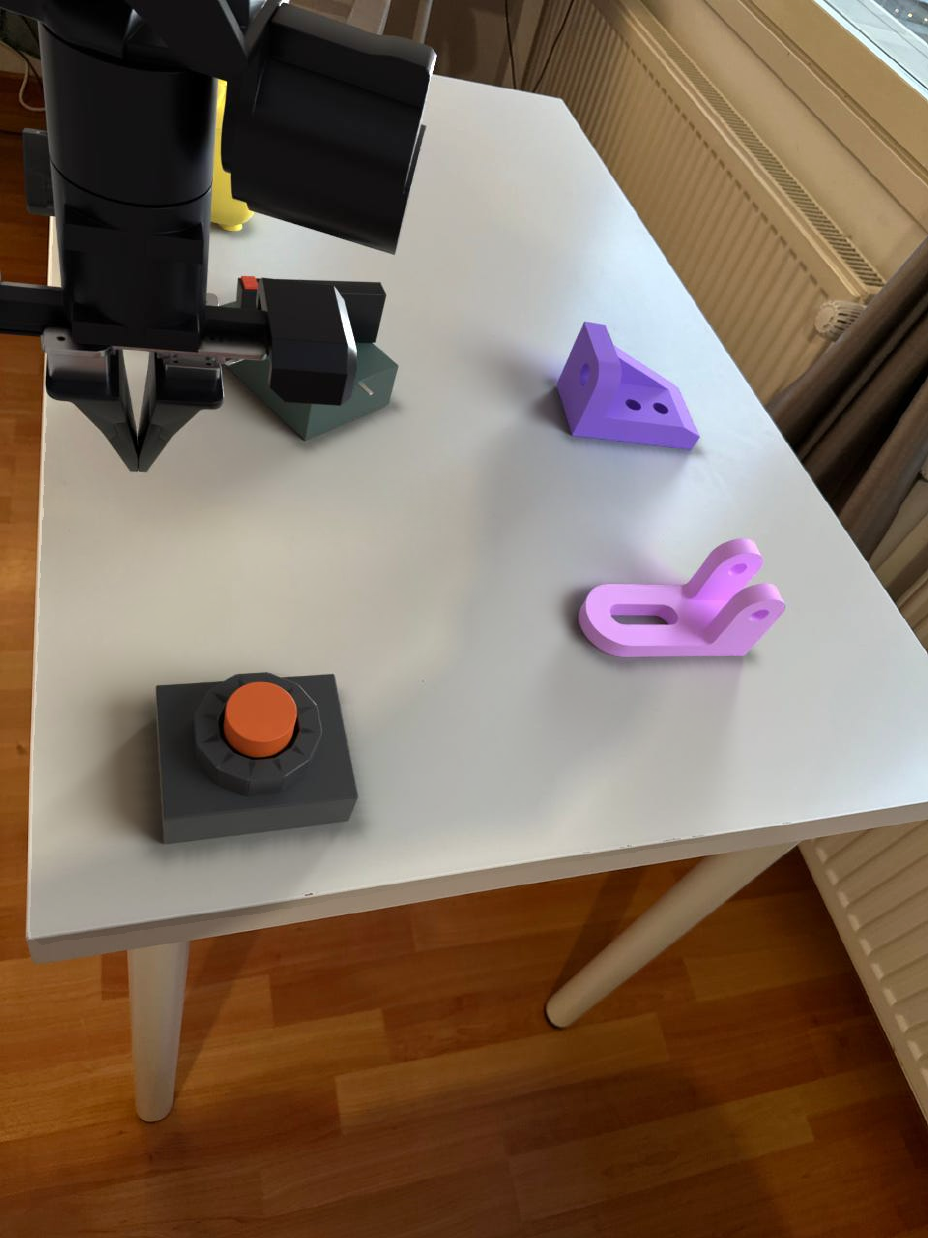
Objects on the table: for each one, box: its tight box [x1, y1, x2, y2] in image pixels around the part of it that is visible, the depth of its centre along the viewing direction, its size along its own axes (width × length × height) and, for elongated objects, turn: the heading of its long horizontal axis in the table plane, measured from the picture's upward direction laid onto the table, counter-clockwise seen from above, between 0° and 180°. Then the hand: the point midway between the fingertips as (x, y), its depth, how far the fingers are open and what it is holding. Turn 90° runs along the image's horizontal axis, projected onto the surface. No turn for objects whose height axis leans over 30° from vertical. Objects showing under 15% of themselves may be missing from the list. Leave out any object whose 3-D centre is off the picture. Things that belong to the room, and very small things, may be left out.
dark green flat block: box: [220, 300, 399, 442], centre depth 70 cm, size 15×15×4 cm
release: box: [155, 671, 359, 845], centre depth 48 cm, size 10×8×5 cm
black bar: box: [235, 275, 387, 344], centre depth 67 cm, size 11×2×5 cm, turn 111°
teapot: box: [210, 79, 256, 232], centre depth 79 cm, size 18×11×11 cm, turn 2°
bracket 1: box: [556, 321, 701, 450], centre depth 78 cm, size 12×7×7 cm, turn 98°
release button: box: [224, 682, 297, 757], centre depth 46 cm, size 4×4×2 cm
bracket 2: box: [578, 537, 786, 658], centre depth 63 cm, size 13×6×7 cm, turn 101°
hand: (138, 465), depth 45 cm, fingers closed
